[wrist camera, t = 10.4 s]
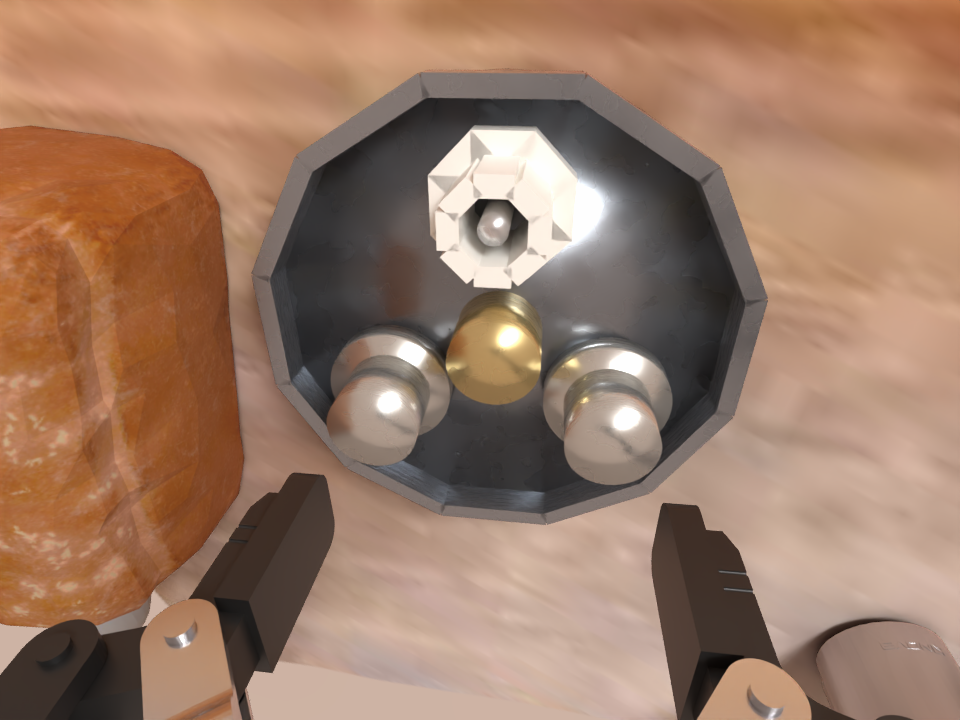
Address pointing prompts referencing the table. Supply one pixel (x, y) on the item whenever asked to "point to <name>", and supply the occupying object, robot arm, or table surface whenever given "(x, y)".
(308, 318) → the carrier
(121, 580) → the bread
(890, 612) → the table surface
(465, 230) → the white faceted ring
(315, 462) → the table surface
